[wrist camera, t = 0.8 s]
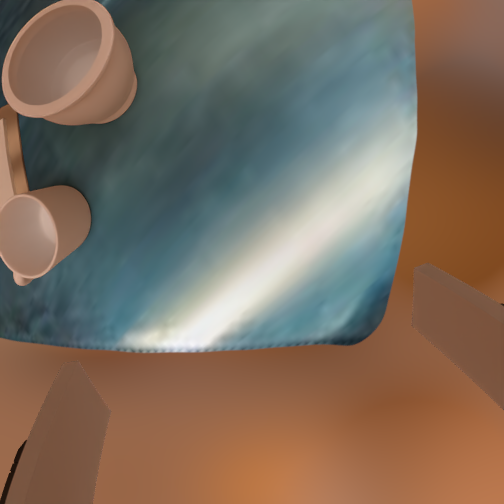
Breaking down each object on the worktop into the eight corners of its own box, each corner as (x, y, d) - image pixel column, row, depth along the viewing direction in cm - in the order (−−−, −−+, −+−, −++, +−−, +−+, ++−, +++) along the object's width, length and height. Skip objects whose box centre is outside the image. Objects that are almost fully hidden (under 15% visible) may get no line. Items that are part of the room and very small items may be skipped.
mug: (65, 283, 34) (32, 320, 24) (21, 250, 32) (-21, 277, 22) (104, 207, 33) (71, 224, 23) (55, 172, 30) (11, 177, 20)
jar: (156, 111, 30) (128, 76, 16) (79, 147, 30) (11, 142, 16) (134, 39, 27) (102, -24, 13) (60, 75, 26) (-4, 39, 12)
